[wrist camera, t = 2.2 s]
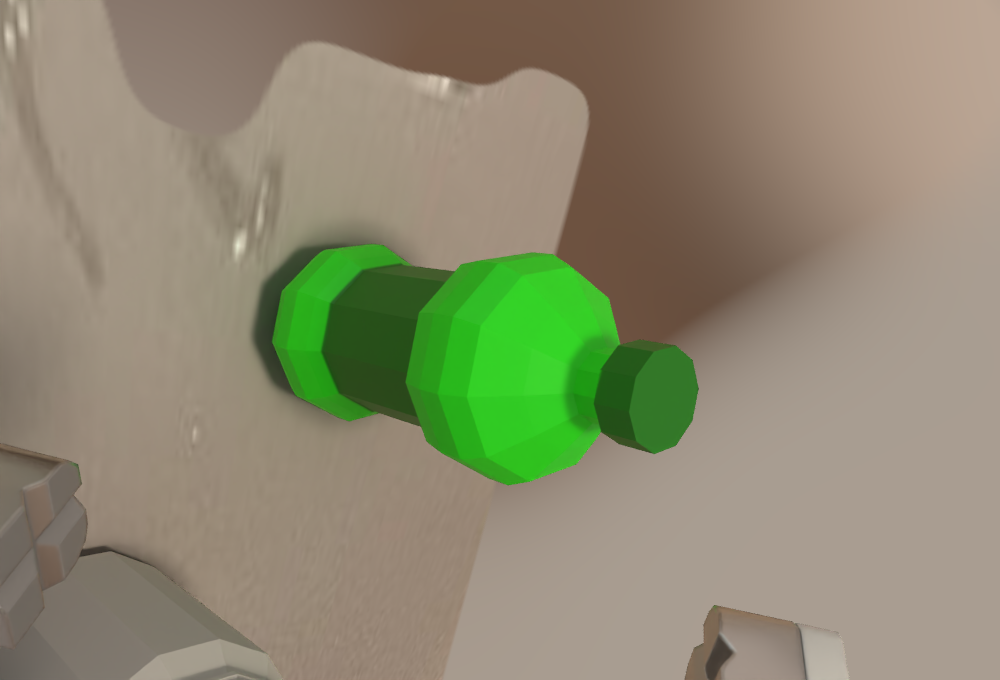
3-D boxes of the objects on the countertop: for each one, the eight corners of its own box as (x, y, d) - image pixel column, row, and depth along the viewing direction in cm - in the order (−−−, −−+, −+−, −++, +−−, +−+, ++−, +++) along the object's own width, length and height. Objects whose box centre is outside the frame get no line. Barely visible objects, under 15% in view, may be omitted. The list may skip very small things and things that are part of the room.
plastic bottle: (285, 444, 54) (614, 582, 36) (214, 279, 50) (545, 340, 32) (414, 361, 60) (756, 444, 42) (360, 206, 56) (714, 223, 37)
